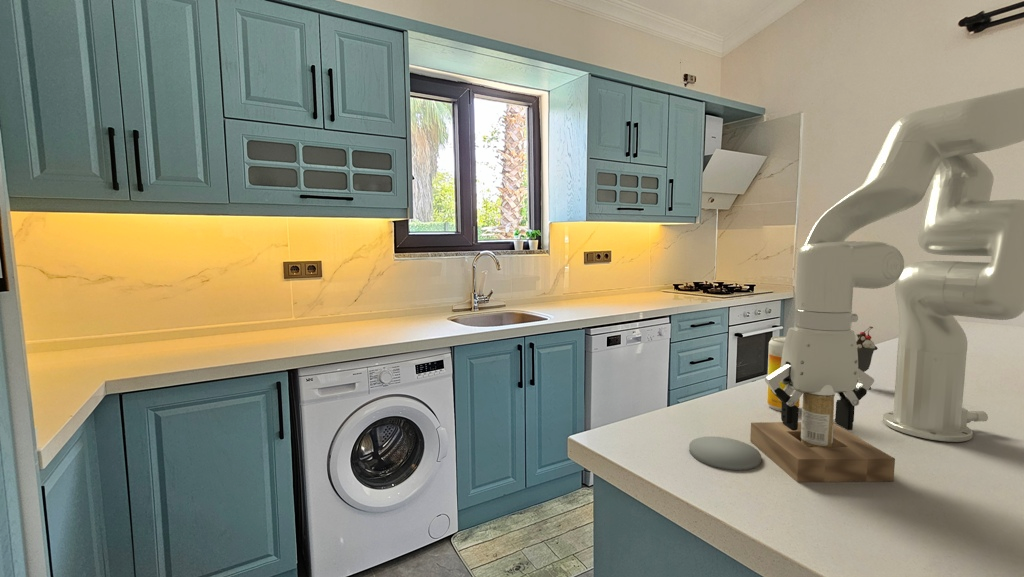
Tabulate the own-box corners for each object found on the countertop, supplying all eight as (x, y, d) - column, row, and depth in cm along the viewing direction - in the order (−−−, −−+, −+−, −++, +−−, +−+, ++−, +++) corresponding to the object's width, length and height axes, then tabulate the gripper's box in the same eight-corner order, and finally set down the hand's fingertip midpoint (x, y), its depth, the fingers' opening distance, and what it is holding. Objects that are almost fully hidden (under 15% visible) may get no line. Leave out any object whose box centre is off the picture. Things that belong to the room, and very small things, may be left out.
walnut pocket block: (830, 440, 83) (831, 421, 83) (893, 481, 69) (895, 458, 69) (750, 441, 84) (750, 422, 83) (797, 481, 69) (798, 459, 69)
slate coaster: (741, 440, 84) (741, 436, 84) (774, 470, 73) (774, 465, 73) (680, 440, 84) (680, 436, 84) (703, 470, 73) (704, 465, 73)
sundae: (882, 390, 110) (886, 328, 109) (853, 390, 110) (857, 328, 109) (861, 382, 117) (865, 323, 115) (834, 382, 117) (838, 323, 115)
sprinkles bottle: (837, 461, 76) (841, 380, 74) (824, 468, 73) (828, 385, 72) (806, 450, 80) (810, 374, 78) (793, 457, 77) (797, 378, 76)
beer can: (798, 414, 96) (802, 343, 94) (765, 409, 99) (768, 340, 98) (799, 405, 101) (802, 337, 100) (767, 401, 104) (769, 335, 103)
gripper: (860, 316, 78) (854, 418, 79) (755, 318, 78) (751, 418, 80) (896, 324, 70) (888, 436, 72) (779, 325, 71) (775, 437, 72)
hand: (816, 426), depth 76 cm, fingers open, 8 cm apart
